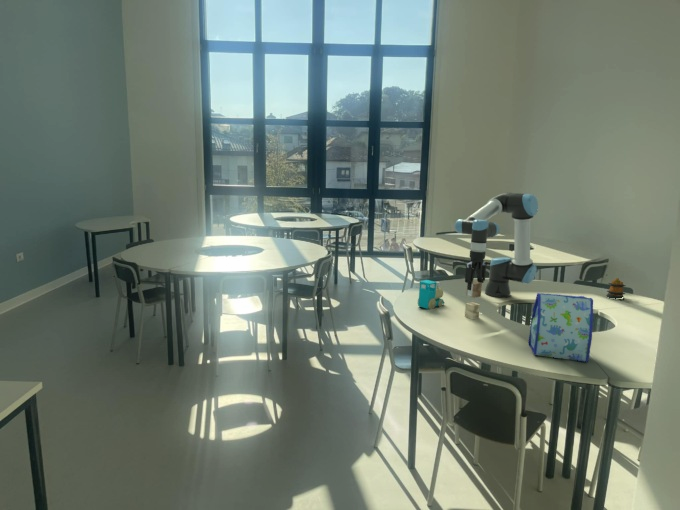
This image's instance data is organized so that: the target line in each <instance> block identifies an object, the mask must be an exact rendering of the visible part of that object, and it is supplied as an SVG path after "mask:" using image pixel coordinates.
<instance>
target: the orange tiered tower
mask: <svg viewBox="0 0 680 510" xmlns="http://www.w3.org/2000/svg"><path fill="white" fill-rule="evenodd" d="M614 279H615V280H612V281H611V282H609V283H608V285H610V287H609V289H608V290H606V292H607V293H606V296H607V297H609V298H608V299H610V298H615V299H616V298H622V297H624V295H626V292H624V287H627V286H626V285H625V284H624V282H623V281H621V280H619V279H620V278H618V277H616V278H614ZM607 297H606V298H607ZM624 298H625V297H624Z"/></svg>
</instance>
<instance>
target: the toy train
mask: <svg viewBox="0 0 680 510" xmlns="http://www.w3.org/2000/svg"><path fill="white" fill-rule="evenodd" d="M440 283H441V282H440V281H433V280H429V279H425V280H420V281H419V289H418V290H419V291H418V292H419V293H418V298H417V305H418V307H421V308H423V309H427V310H432V309H435V307H439V308H441V307H442V306H443V305H444V304H445V301H444V299H443V296H444V290H443V289H442V287H440ZM422 285H423V286H425V288H423V287H422ZM432 285H434V286H432Z"/></svg>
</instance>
